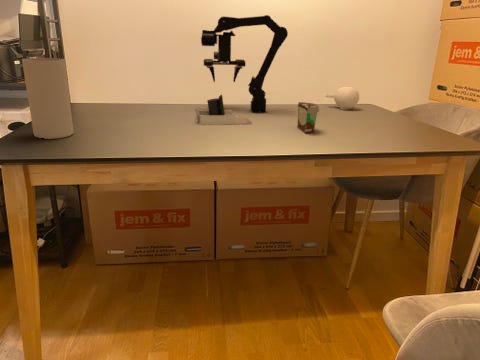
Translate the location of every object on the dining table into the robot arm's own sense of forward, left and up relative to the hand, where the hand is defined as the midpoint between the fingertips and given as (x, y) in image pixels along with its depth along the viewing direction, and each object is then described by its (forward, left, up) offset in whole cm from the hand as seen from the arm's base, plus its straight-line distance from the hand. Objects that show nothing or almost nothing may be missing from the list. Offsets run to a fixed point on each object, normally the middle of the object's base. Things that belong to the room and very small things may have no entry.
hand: (224, 82), depth 184 cm
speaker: (+6, +25, -13) cm, 29 cm away
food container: (-28, +43, -13) cm, 53 cm away
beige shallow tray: (+3, +25, -13) cm, 28 cm away
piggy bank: (-62, -5, -13) cm, 64 cm away
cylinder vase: (+64, +46, -13) cm, 80 cm away
